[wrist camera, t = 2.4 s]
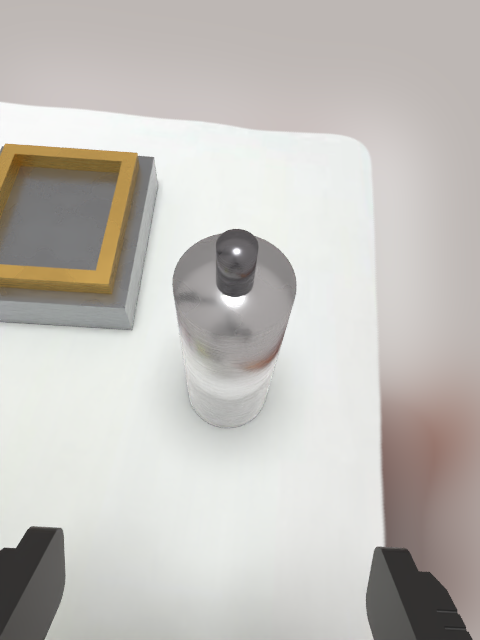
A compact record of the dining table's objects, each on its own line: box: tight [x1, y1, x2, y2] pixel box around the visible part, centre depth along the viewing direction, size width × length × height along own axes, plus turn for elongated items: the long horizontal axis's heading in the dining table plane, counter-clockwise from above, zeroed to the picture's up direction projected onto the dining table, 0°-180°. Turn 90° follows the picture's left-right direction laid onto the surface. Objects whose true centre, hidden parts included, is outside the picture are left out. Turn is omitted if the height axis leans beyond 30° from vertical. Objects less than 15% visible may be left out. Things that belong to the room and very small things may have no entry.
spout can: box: [173, 229, 296, 428], centre depth 24 cm, size 5×5×15 cm
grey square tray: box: [0, 144, 158, 330], centre depth 34 cm, size 12×14×4 cm
